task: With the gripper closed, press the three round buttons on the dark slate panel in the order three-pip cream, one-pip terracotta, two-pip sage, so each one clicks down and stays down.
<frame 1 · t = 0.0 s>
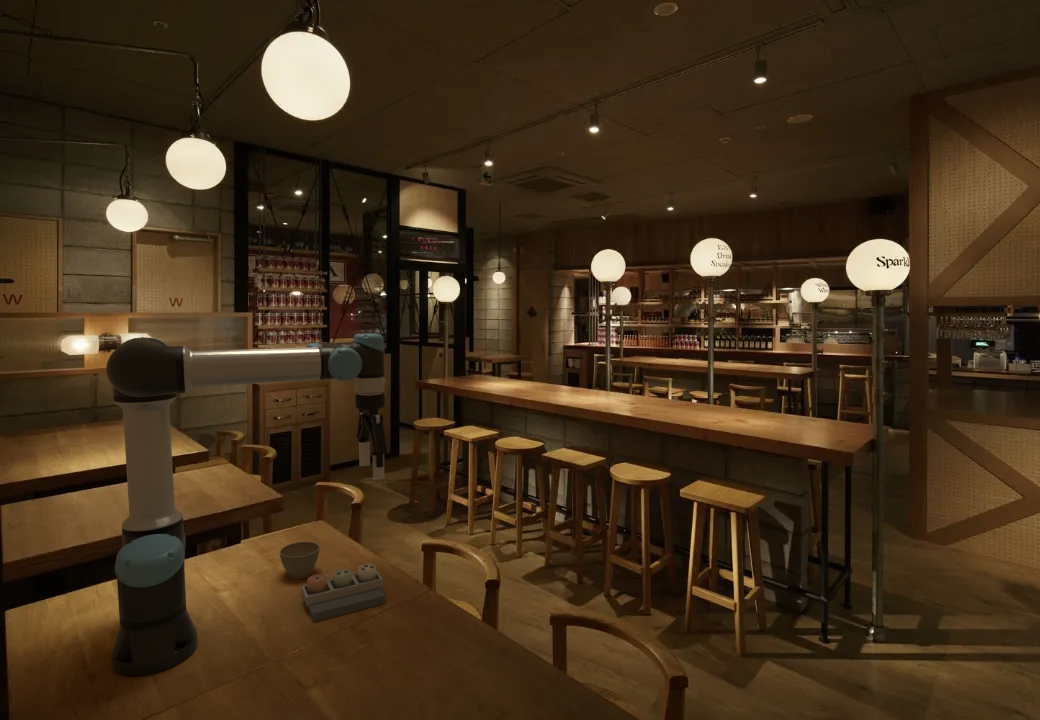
hand: (371, 472, 153), 28 cm above the table, fingers open, 13 cm apart
panel: (343, 598, 143), on the table
sage button: (342, 577, 142), point 5 cm above the table, slide at 0.0 cm
cream button: (366, 571, 145), point 5 cm above the table, slide at 0.0 cm
grey bowl: (300, 575, 155), on the table
terracotta button: (317, 583, 139), point 5 cm above the table, slide at 0.0 cm
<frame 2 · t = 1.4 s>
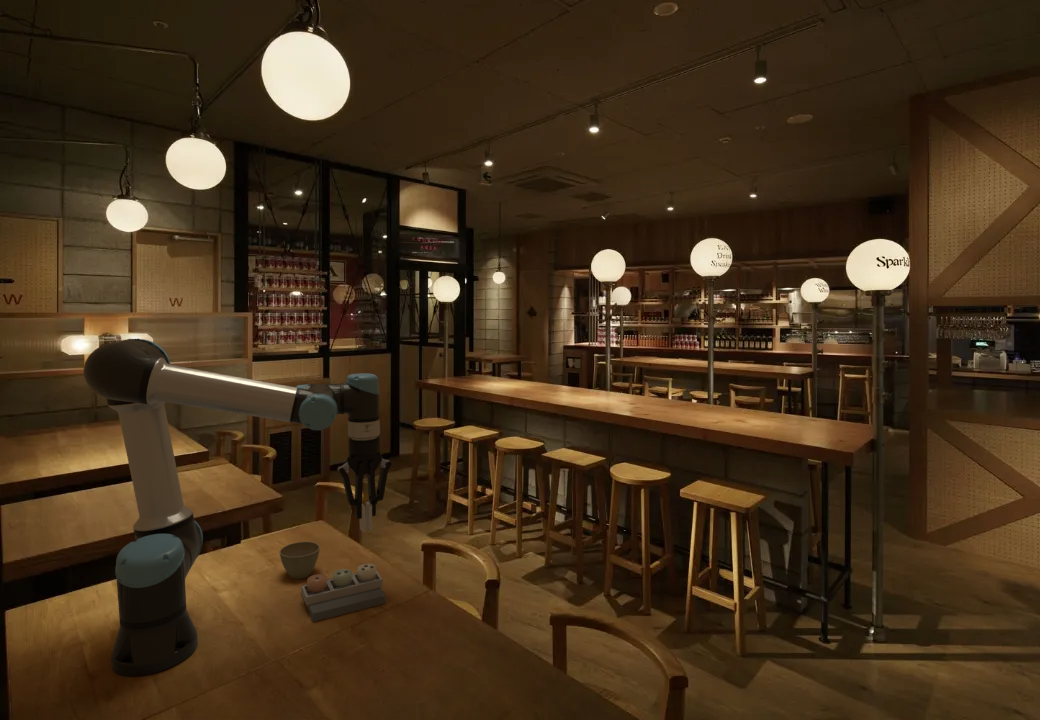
hand: (366, 529, 144), 16 cm above the table, fingers closed
nothing on the table moved.
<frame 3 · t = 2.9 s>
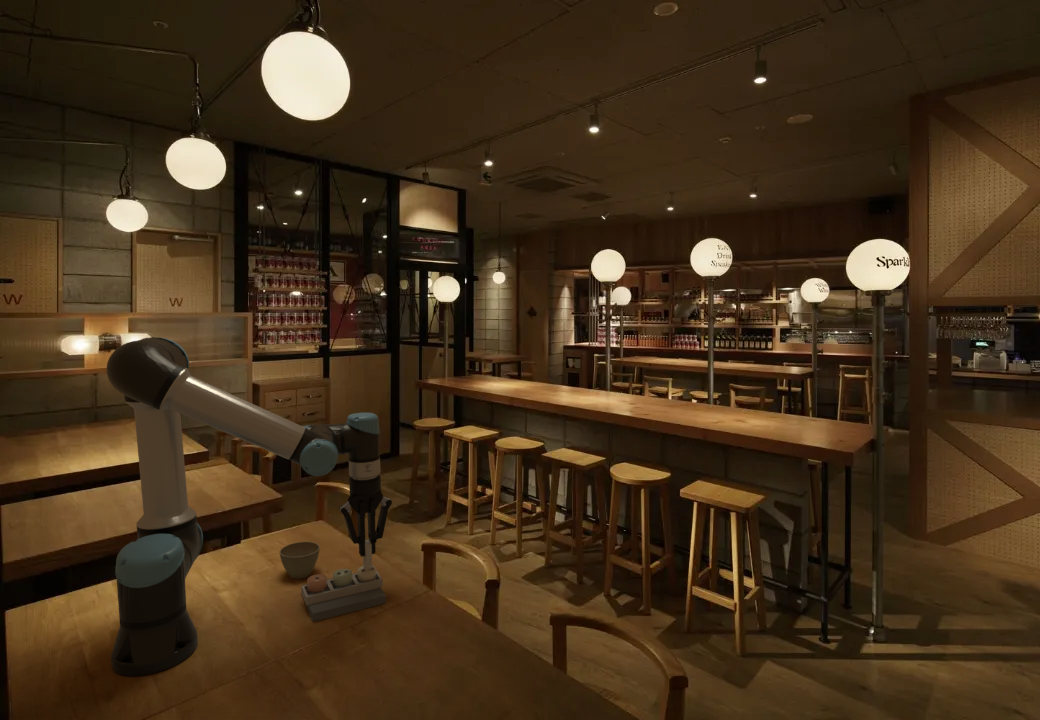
hand: (367, 566, 145), 7 cm above the table, fingers closed
cream button: (366, 573, 145), point 5 cm above the table, slide at 0.4 cm, touching gripper
everything else where it was.
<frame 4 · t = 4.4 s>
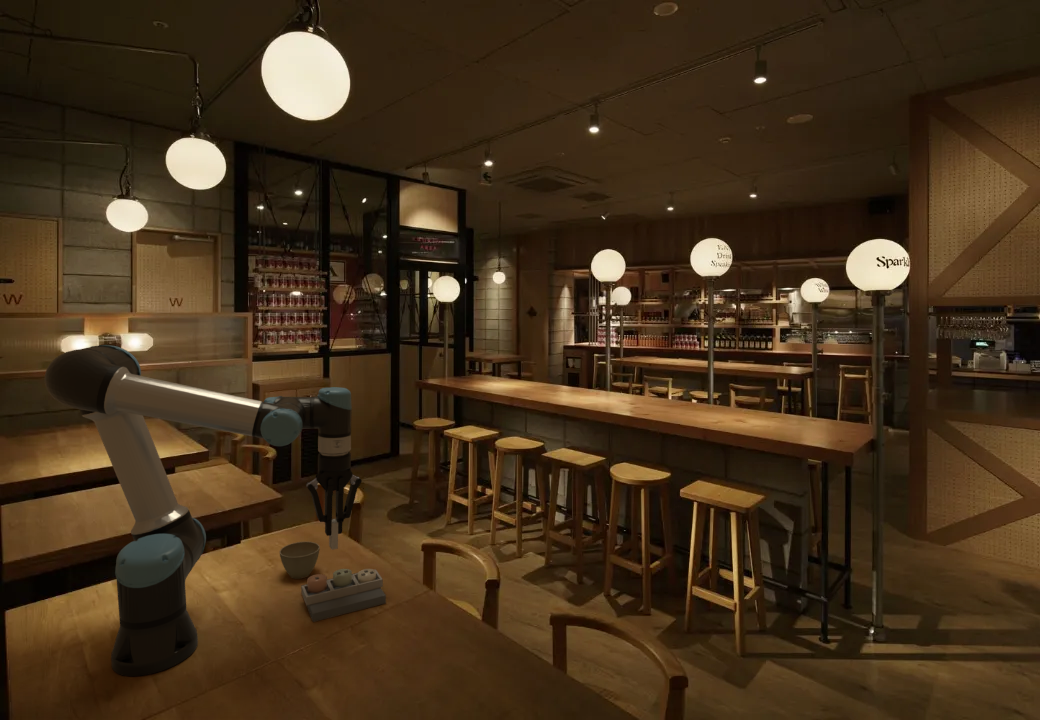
hand: (333, 547, 141), 13 cm above the table, fingers closed
cream button: (366, 577, 145), point 4 cm above the table, slide at 1.4 cm
everything else where it was.
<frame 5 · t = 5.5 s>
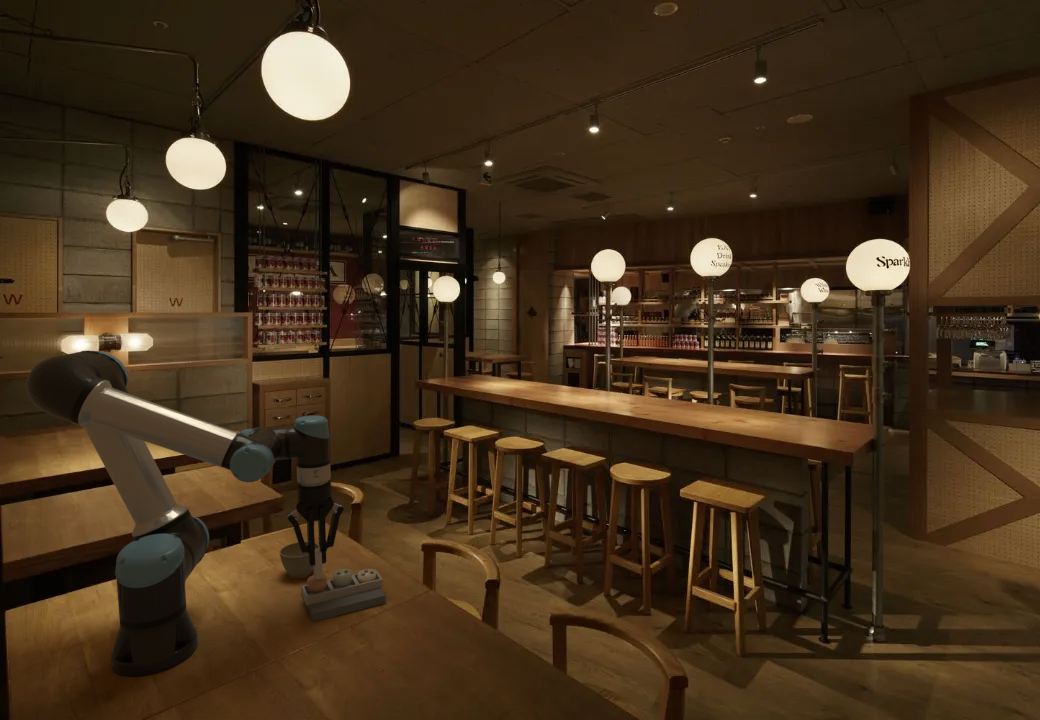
hand: (318, 576, 139), 7 cm above the table, fingers closed
terracotta button: (317, 583, 139), point 5 cm above the table, slide at 0.0 cm, touching gripper
everything else where it was.
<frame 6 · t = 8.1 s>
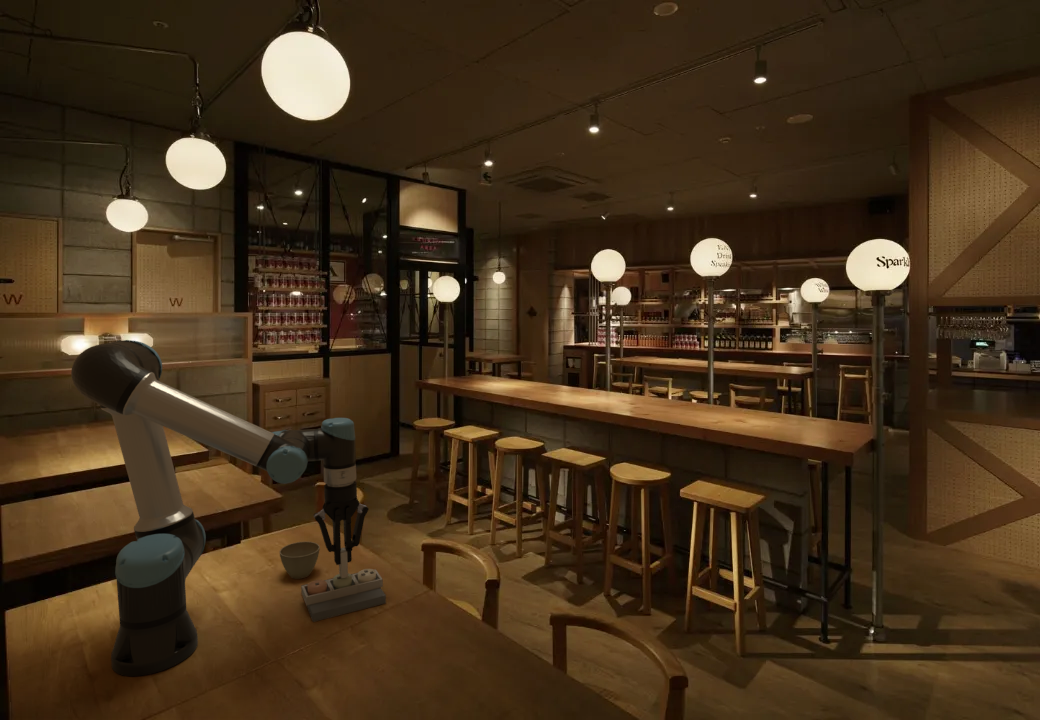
hand: (343, 575, 142), 6 cm above the table, fingers closed
sage button: (342, 581, 142), point 4 cm above the table, slide at 1.1 cm, touching gripper
terracotta button: (317, 588, 139), point 4 cm above the table, slide at 1.5 cm
everything else where it was.
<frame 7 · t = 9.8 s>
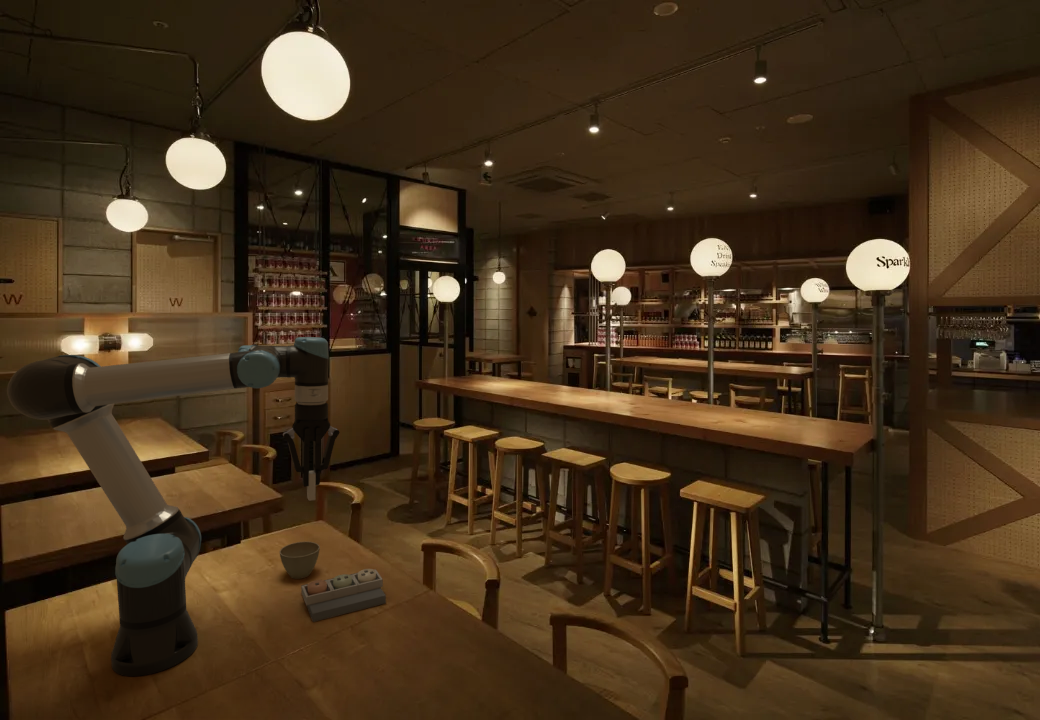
hand: (311, 498, 140), 25 cm above the table, fingers closed
sage button: (342, 583, 142), point 4 cm above the table, slide at 1.5 cm
everything else where it was.
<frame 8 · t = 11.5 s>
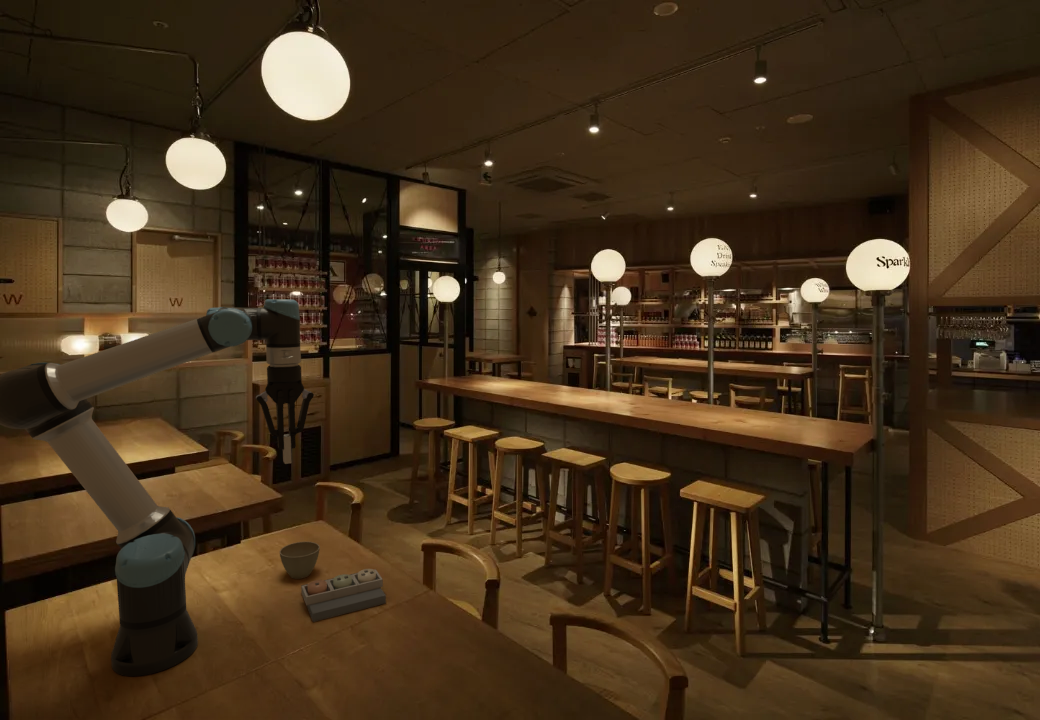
hand: (287, 462, 139), 34 cm above the table, fingers closed
nothing on the table moved.
at the end: cream button slide at 1.4 cm; terracotta button slide at 1.5 cm; sage button slide at 1.5 cm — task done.
